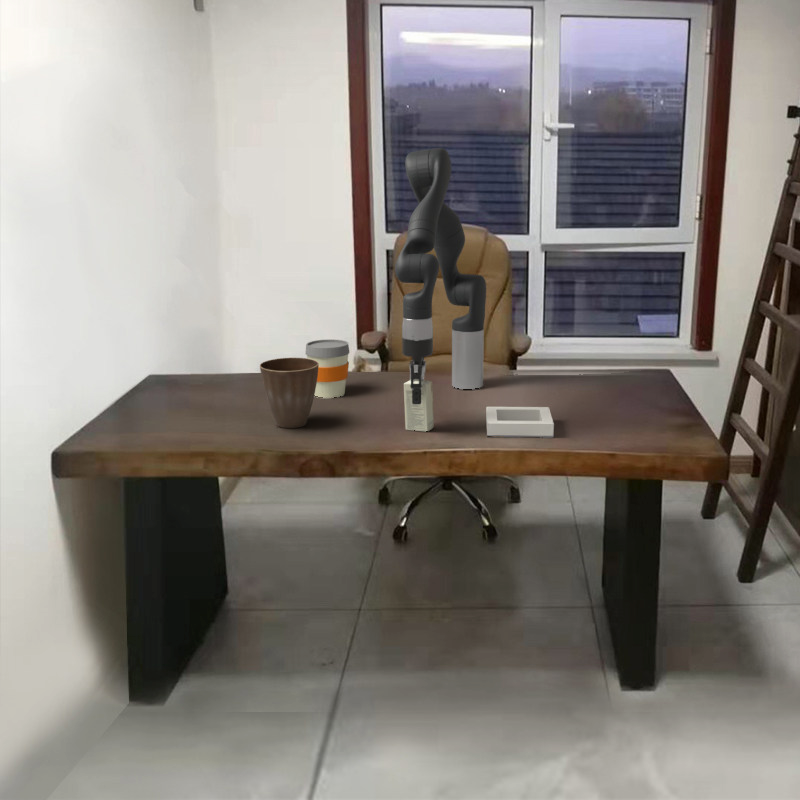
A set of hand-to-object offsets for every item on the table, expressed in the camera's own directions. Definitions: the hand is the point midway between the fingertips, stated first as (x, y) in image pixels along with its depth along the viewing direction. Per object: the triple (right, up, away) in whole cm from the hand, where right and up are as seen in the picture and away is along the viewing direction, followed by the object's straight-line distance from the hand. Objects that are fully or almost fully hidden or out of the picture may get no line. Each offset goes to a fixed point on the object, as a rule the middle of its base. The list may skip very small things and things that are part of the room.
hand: (417, 399), depth 226 cm
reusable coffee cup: (-25, +1, +36) cm, 44 cm away
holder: (+25, -7, +1) cm, 26 cm away
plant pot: (-32, -7, +8) cm, 34 cm away
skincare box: (0, -8, +2) cm, 8 cm away
